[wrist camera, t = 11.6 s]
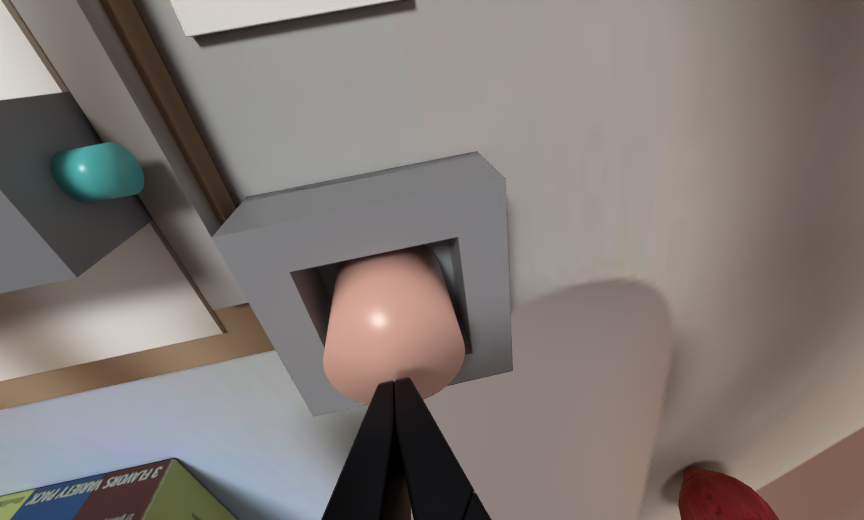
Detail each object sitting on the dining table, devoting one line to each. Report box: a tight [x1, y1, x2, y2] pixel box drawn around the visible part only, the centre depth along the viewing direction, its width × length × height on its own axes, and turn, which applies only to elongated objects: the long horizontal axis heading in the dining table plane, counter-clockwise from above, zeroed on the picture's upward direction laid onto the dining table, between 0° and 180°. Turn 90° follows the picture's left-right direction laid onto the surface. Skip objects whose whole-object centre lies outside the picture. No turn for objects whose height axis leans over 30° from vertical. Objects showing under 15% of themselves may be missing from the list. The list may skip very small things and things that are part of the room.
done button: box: [323, 244, 465, 405], centre depth 11 cm, size 4×4×4 cm
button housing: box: [212, 152, 513, 417], centre depth 13 cm, size 8×8×3 cm
